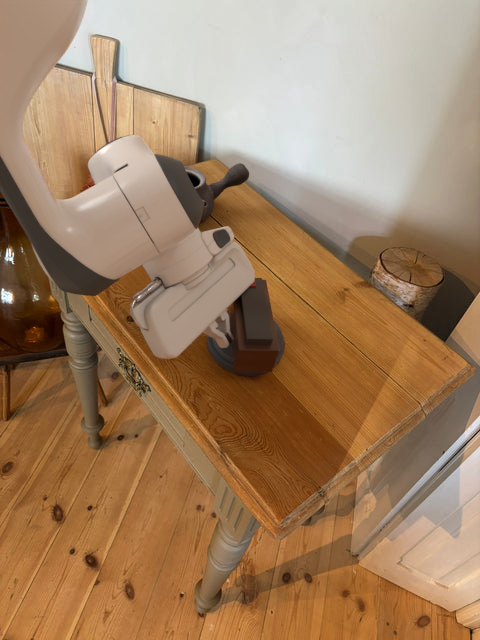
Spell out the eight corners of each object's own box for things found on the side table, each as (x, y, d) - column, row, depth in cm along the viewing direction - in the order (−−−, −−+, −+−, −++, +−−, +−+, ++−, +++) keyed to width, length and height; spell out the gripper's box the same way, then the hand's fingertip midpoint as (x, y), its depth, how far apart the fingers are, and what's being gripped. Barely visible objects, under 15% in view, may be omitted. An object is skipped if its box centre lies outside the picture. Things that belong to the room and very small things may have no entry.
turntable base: (191, 348, 70) (192, 342, 69) (234, 305, 78) (236, 299, 77) (257, 390, 67) (259, 384, 66) (295, 341, 74) (298, 335, 73)
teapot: (170, 244, 86) (173, 198, 78) (142, 197, 94) (142, 151, 87) (257, 226, 93) (267, 183, 86) (224, 185, 102) (230, 142, 94)
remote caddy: (288, 376, 68) (301, 344, 62) (214, 375, 66) (220, 342, 60) (275, 306, 77) (284, 273, 71) (209, 303, 75) (214, 269, 69)
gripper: (137, 300, 53) (197, 392, 57) (236, 221, 65) (279, 302, 70) (110, 306, 57) (168, 391, 62) (208, 232, 70) (249, 307, 74)
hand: (227, 344), depth 66 cm, fingers closed, pressing on remote caddy
